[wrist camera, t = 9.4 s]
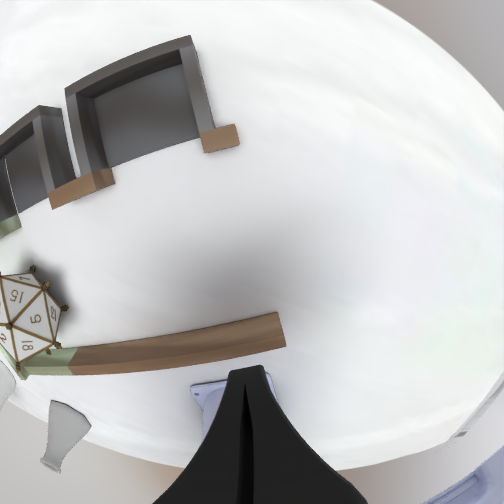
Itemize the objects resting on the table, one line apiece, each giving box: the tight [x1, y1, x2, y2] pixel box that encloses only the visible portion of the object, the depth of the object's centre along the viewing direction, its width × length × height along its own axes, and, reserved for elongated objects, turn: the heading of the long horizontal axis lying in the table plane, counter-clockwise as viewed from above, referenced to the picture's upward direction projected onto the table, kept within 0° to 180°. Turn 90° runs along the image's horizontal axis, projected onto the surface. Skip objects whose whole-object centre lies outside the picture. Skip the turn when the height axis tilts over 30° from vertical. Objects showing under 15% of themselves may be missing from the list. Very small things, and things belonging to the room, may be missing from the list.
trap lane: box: [0, 35, 286, 380], centre depth 16 cm, size 22×29×4 cm
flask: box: [40, 401, 91, 474], centre depth 22 cm, size 7×7×10 cm
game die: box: [0, 265, 69, 373], centre depth 16 cm, size 9×8×10 cm
